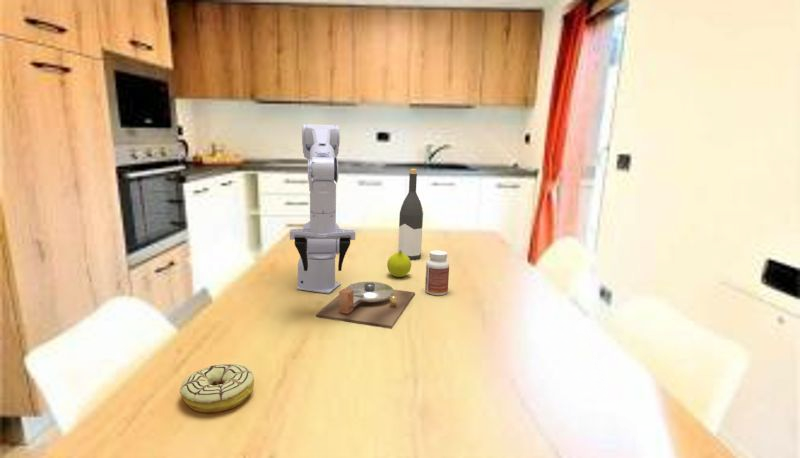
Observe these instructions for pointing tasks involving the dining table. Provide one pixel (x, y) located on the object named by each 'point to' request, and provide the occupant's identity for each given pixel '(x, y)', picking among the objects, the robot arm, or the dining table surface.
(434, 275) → the pill bottle
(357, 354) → the dining table surface
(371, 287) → the metal lid
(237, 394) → the decorated donut
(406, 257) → the yellow round fruit
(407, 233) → the wine bottle
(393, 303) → the dowel
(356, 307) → the board
